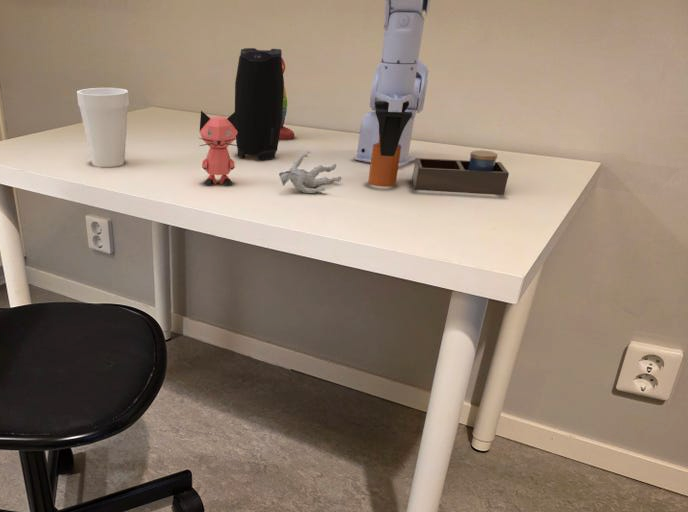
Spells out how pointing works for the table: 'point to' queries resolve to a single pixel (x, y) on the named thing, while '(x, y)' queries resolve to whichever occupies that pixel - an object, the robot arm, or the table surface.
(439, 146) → the table surface
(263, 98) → the portable speaker
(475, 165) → the blue jar
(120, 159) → the foam cup
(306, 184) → the soldier figure
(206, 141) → the cat figurine
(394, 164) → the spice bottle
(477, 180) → the divided storage box
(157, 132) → the table surface
